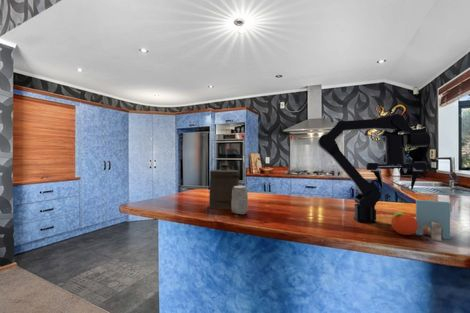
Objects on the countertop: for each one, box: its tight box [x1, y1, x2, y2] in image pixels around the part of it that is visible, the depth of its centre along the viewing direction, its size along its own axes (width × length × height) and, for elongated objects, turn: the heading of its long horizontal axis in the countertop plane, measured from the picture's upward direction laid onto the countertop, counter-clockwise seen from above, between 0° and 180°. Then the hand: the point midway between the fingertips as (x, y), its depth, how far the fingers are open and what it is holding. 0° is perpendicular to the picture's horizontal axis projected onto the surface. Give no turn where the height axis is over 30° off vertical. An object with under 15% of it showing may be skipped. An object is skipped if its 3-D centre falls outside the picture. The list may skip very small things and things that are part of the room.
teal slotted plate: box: [415, 198, 451, 240], centre depth 73 cm, size 8×2×11 cm, turn 55°
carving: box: [231, 185, 249, 215], centre depth 100 cm, size 6×8×12 cm
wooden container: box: [208, 162, 240, 210], centre depth 115 cm, size 15×15×22 cm
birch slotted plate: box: [427, 221, 442, 242], centre depth 72 cm, size 2×10×5 cm, turn 145°
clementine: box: [390, 212, 418, 236], centre depth 73 cm, size 8×7×7 cm
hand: (396, 188), depth 87 cm, fingers open, 9 cm apart
